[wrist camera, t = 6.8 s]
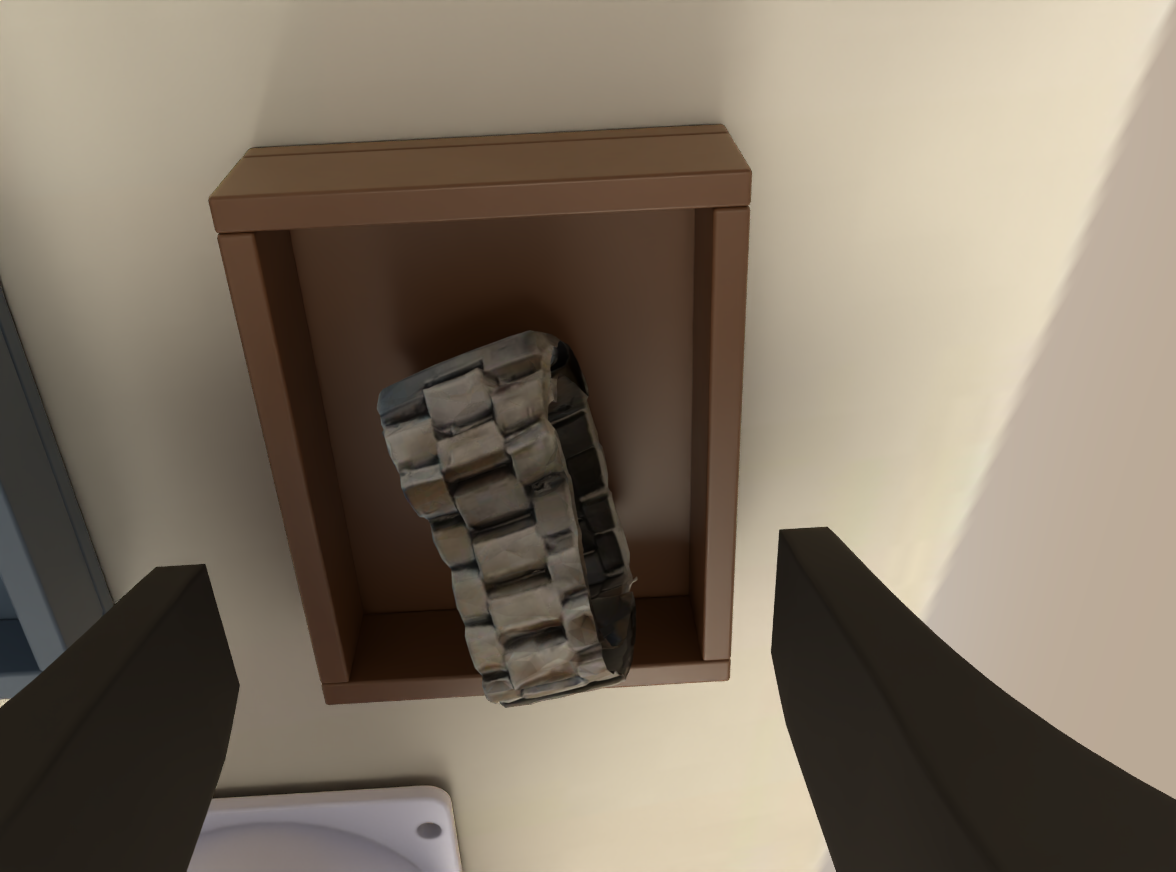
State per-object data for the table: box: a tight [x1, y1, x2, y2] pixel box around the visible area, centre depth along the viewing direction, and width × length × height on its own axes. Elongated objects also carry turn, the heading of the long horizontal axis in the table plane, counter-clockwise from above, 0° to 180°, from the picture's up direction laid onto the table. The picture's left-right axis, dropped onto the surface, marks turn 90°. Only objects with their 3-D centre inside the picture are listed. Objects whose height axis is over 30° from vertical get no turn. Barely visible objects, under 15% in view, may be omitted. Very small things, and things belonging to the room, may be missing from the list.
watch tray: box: [208, 124, 752, 705], centre depth 17 cm, size 9×7×2 cm
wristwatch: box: [377, 330, 637, 708], centre depth 16 cm, size 3×5×5 cm
